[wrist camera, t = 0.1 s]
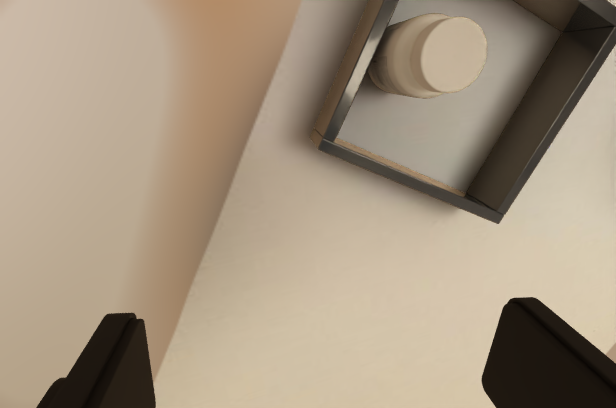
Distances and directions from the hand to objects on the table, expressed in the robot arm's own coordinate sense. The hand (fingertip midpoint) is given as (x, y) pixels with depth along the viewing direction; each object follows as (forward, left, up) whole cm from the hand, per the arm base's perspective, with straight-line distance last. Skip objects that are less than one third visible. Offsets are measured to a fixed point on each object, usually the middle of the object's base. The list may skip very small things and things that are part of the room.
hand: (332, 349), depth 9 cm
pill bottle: (-8, +8, -18) cm, 21 cm away
